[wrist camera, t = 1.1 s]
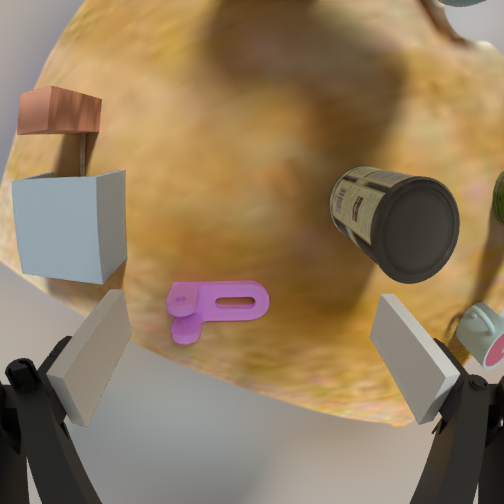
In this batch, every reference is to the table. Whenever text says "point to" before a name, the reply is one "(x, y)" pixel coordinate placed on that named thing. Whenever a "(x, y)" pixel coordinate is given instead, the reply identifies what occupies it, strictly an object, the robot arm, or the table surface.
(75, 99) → the reddish brown block
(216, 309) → the bracket
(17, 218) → the box
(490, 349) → the mug
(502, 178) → the lantern
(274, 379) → the table surface
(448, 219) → the coffee can
